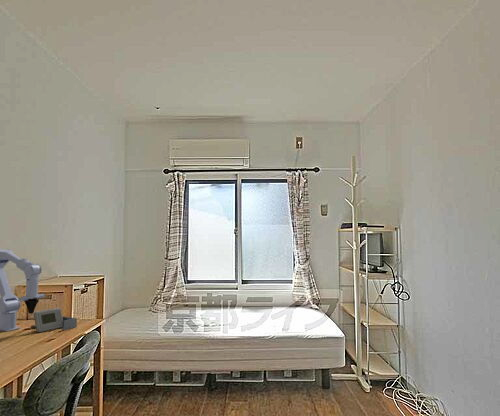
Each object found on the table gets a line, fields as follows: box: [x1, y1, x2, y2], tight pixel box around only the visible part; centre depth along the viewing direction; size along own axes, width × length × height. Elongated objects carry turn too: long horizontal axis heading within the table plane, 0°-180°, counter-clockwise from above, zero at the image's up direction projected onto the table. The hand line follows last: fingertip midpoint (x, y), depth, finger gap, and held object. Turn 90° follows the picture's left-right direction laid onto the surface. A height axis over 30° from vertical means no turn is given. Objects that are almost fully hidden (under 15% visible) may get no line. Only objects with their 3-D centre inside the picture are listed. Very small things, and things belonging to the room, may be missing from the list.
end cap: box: [61, 316, 78, 331], centre depth 236 cm, size 14×9×5 cm, turn 68°
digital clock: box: [33, 307, 63, 333], centre depth 231 cm, size 16×9×11 cm, turn 139°
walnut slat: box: [30, 323, 36, 330], centre depth 238 cm, size 12×3×2 cm, turn 179°
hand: (31, 313), depth 225 cm, fingers closed
